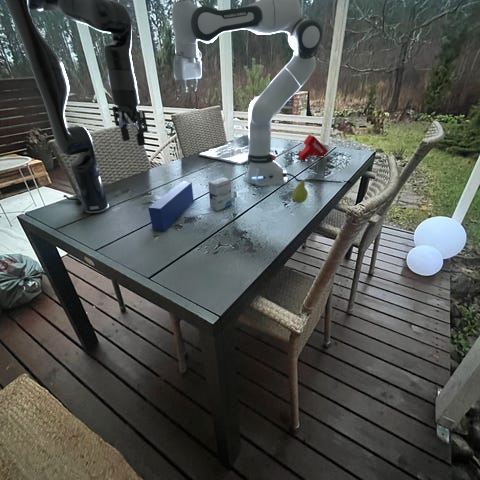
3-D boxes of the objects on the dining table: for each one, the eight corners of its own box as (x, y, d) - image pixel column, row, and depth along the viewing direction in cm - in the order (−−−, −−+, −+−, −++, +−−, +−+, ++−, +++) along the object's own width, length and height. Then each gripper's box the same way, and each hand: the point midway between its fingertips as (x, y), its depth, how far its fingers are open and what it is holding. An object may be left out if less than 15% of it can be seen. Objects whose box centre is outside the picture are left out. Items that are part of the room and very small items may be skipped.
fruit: (288, 200, 123) (290, 174, 116) (302, 197, 125) (305, 172, 119) (296, 206, 118) (299, 179, 111) (310, 203, 120) (314, 177, 114)
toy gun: (299, 156, 169) (313, 135, 166) (294, 155, 172) (308, 134, 169) (314, 170, 180) (328, 150, 177) (310, 169, 183) (323, 149, 180)
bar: (184, 200, 124) (181, 181, 119) (193, 201, 123) (191, 182, 118) (152, 229, 102) (148, 207, 97) (164, 231, 101) (160, 208, 96)
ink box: (224, 201, 122) (223, 176, 116) (231, 205, 119) (231, 179, 113) (209, 207, 117) (207, 181, 111) (217, 211, 114) (215, 184, 108)
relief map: (240, 164, 168) (240, 156, 165) (199, 155, 186) (198, 147, 183) (263, 154, 186) (264, 146, 184) (224, 147, 204) (224, 140, 201)
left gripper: (99, 86, 82) (111, 141, 92) (126, 90, 75) (137, 149, 84) (121, 84, 87) (131, 137, 97) (148, 88, 80) (156, 144, 89)
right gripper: (182, 51, 101) (186, 93, 109) (203, 53, 118) (205, 89, 125) (167, 51, 103) (172, 93, 110) (189, 53, 119) (192, 89, 127)
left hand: (133, 142), depth 90 cm, fingers open, 8 cm apart
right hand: (190, 91), depth 118 cm, fingers open, 8 cm apart
